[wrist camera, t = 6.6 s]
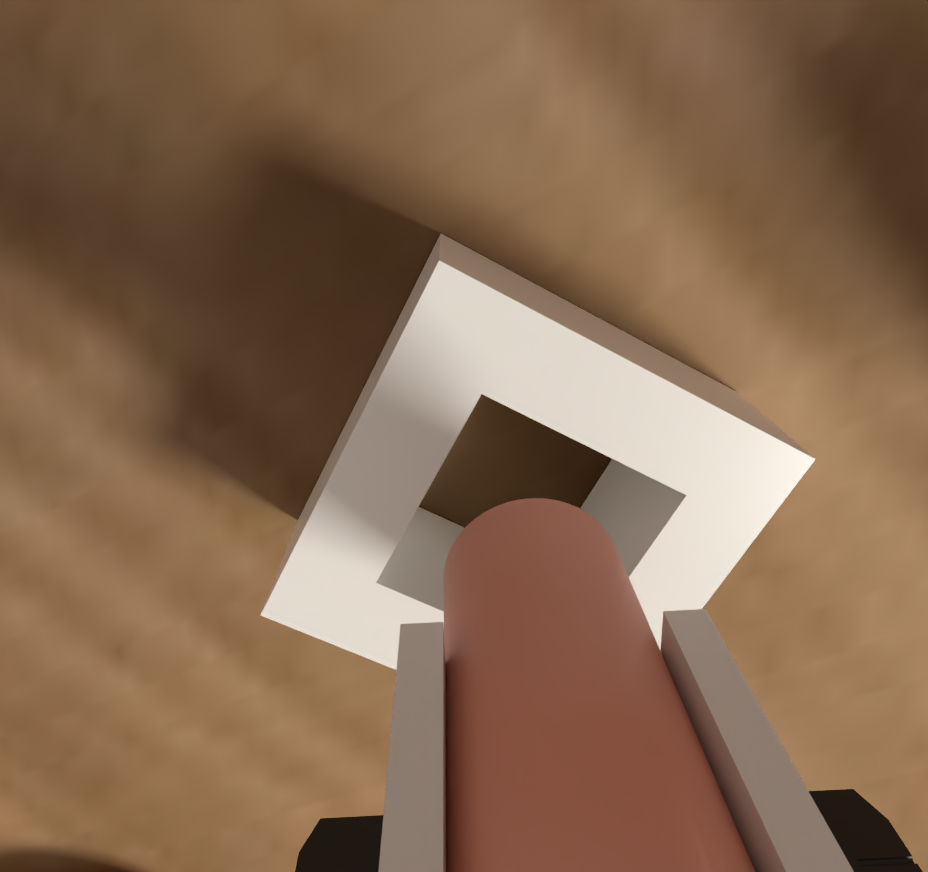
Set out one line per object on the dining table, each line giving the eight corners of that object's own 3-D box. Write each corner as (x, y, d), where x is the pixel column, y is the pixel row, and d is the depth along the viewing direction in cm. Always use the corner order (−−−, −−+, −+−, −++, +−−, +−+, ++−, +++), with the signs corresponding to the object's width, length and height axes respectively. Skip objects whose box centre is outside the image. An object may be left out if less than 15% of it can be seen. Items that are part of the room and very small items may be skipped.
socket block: (440, 233, 20) (438, 260, 15) (737, 392, 22) (815, 459, 17) (297, 520, 23) (260, 615, 19) (567, 637, 25) (594, 749, 21)
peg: (496, 469, 16) (767, 2107, 3) (653, 543, 16) (1477, 2094, 3) (413, 610, 17) (310, 2191, 4) (562, 673, 18) (903, 2170, 5)
